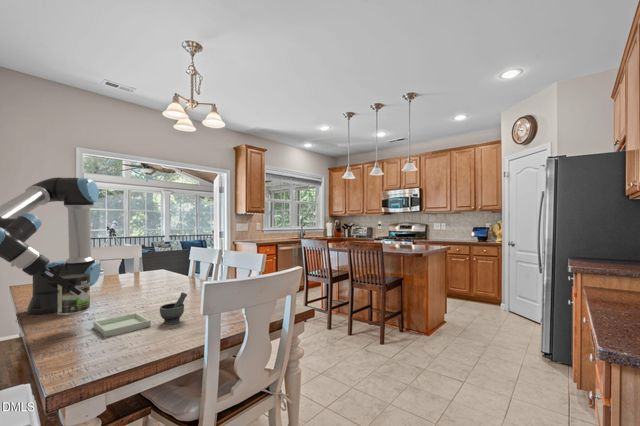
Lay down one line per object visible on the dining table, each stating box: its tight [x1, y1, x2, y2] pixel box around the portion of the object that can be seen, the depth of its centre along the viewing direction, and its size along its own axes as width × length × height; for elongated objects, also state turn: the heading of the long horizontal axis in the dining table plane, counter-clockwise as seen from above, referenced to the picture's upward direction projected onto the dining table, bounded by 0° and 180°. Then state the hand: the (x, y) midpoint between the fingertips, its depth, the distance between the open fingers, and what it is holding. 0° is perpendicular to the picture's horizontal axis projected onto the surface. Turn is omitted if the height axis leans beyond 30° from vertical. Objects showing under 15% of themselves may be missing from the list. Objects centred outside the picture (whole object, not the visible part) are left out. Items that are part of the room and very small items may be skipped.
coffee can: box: [56, 274, 91, 316], centre depth 123 cm, size 10×10×14 cm
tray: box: [93, 312, 152, 338], centre depth 127 cm, size 16×16×2 cm
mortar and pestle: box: [159, 292, 188, 325], centre depth 134 cm, size 11×9×12 cm
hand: (83, 295), depth 125 cm, fingers closed on coffee can, 10 cm apart
